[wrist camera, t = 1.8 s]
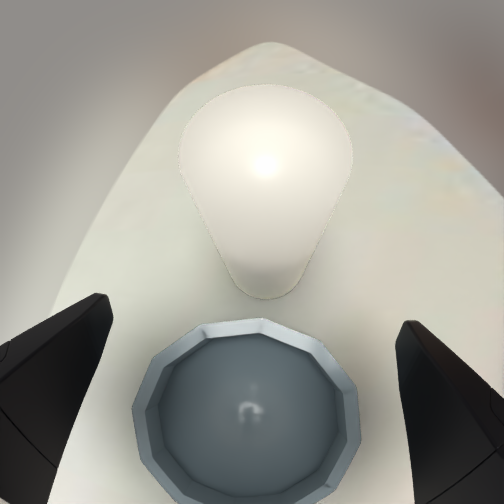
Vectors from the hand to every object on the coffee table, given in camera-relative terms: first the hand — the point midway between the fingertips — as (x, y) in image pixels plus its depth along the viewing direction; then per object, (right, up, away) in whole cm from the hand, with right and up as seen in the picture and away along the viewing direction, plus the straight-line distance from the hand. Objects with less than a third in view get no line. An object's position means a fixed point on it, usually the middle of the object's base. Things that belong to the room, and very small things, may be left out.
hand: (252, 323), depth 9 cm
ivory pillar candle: (+1, +1, +12) cm, 12 cm away
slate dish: (0, -9, +9) cm, 13 cm away
